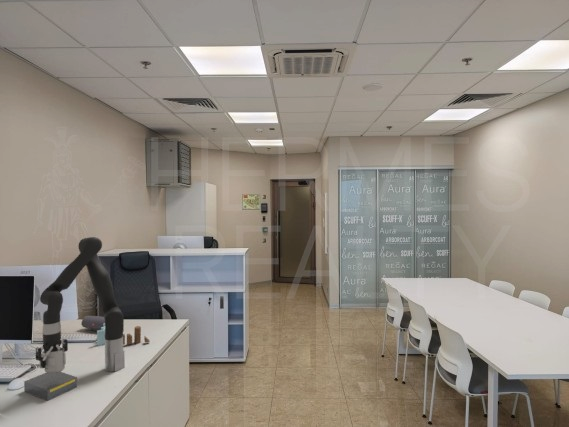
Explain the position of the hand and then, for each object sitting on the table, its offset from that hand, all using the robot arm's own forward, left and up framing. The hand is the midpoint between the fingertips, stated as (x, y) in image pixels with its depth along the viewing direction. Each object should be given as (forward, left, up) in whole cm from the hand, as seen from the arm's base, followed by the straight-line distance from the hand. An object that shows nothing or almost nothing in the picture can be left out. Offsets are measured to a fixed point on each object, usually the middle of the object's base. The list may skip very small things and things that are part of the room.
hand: (52, 364), depth 173 cm
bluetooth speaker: (+59, -67, -13) cm, 90 cm away
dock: (+1, 0, -13) cm, 13 cm away
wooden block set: (+12, -59, -13) cm, 62 cm away
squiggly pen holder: (+35, -56, -13) cm, 67 cm away
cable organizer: (0, 0, -4) cm, 4 cm away
